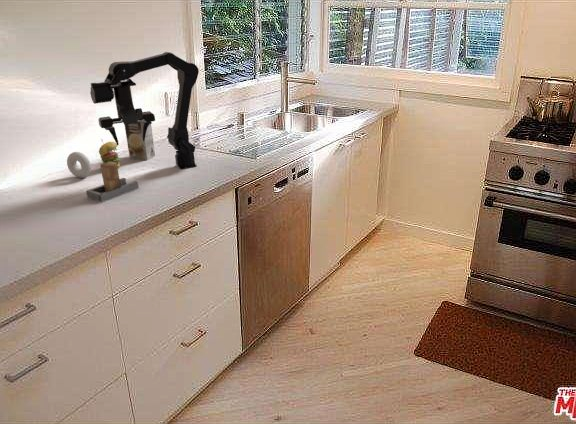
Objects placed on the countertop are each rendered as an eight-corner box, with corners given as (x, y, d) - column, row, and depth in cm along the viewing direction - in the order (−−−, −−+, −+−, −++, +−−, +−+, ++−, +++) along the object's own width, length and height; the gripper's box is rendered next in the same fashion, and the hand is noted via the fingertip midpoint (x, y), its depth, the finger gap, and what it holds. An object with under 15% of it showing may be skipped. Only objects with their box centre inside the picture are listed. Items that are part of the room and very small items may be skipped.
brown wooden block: (115, 188, 174) (110, 161, 170) (121, 190, 172) (116, 162, 168) (105, 192, 171) (100, 164, 167) (111, 194, 169) (106, 166, 165)
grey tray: (124, 184, 179) (123, 177, 178) (138, 188, 175) (137, 181, 174) (87, 197, 168) (86, 190, 167) (102, 202, 164) (100, 195, 163)
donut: (95, 177, 188) (90, 151, 184) (88, 180, 185) (83, 154, 181) (74, 174, 191) (69, 149, 187) (67, 177, 188) (62, 152, 184)
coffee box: (128, 158, 208) (122, 120, 202) (137, 154, 214) (132, 117, 207) (147, 160, 205) (141, 121, 199) (156, 155, 211) (151, 118, 204)
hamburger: (118, 170, 194) (113, 140, 189) (99, 171, 193) (94, 141, 188) (123, 164, 201) (118, 135, 196) (105, 165, 200) (99, 136, 195)
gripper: (99, 106, 165) (108, 152, 171) (156, 100, 172) (162, 143, 179) (94, 101, 174) (102, 145, 180) (148, 95, 181) (154, 137, 188)
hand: (130, 142), depth 181 cm, fingers open, 9 cm apart
